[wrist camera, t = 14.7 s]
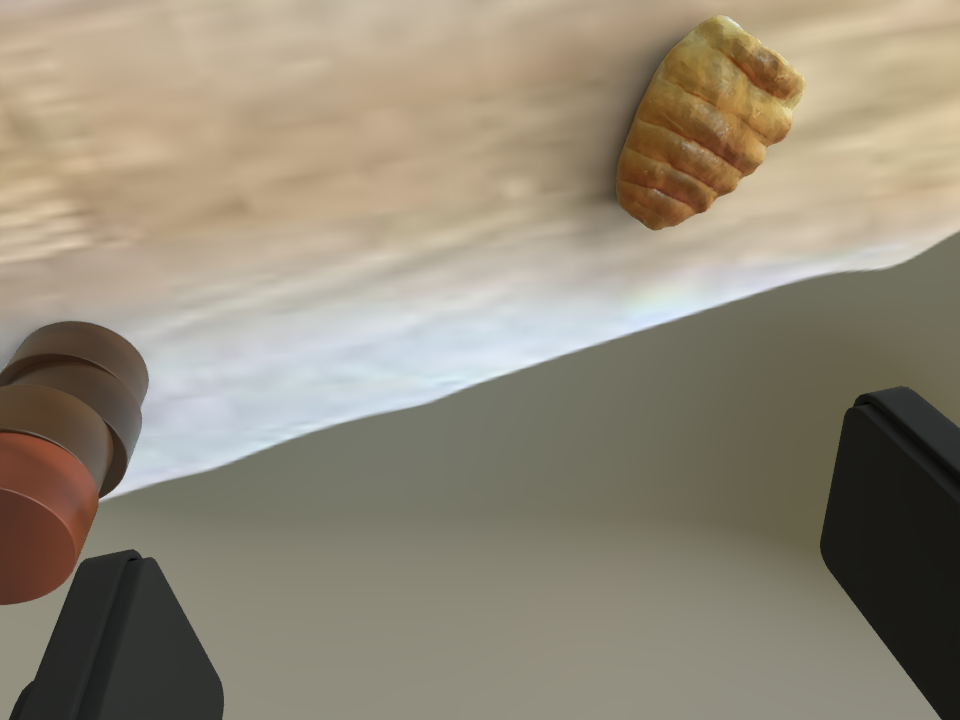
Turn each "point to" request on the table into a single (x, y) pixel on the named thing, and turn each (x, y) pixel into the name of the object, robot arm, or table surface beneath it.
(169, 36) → the table surface
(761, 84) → the pastry
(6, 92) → the table surface
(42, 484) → the reddish-brown squat cylinder
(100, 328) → the stacked discs
